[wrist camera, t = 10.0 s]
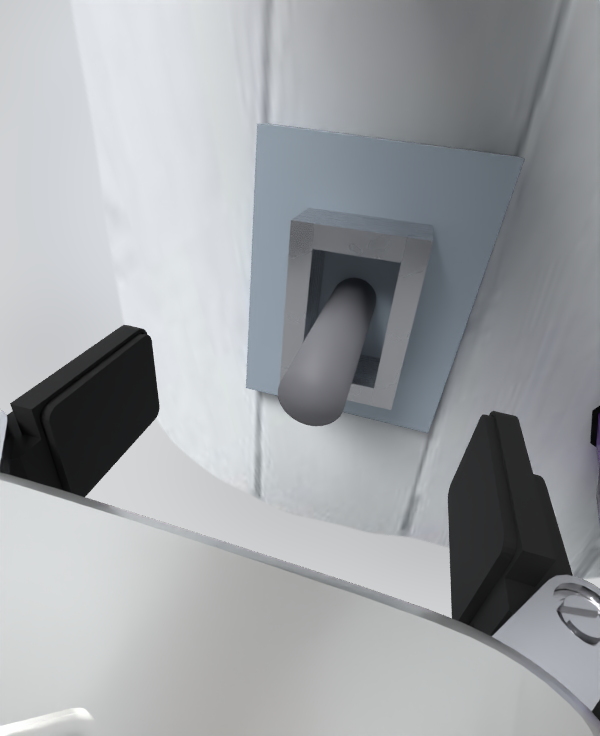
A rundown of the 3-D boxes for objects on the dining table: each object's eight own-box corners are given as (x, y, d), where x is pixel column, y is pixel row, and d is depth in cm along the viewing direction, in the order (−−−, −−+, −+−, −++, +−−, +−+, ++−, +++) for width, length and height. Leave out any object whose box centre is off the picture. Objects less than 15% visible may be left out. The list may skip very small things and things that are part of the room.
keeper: (268, 123, 19) (132, 122, 10) (517, 156, 17) (607, 188, 9) (254, 375, 27) (168, 498, 18) (427, 417, 25) (426, 577, 16)
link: (309, 207, 19) (291, 220, 17) (432, 224, 18) (433, 241, 16) (295, 357, 23) (279, 385, 21) (395, 378, 22) (391, 410, 20)
